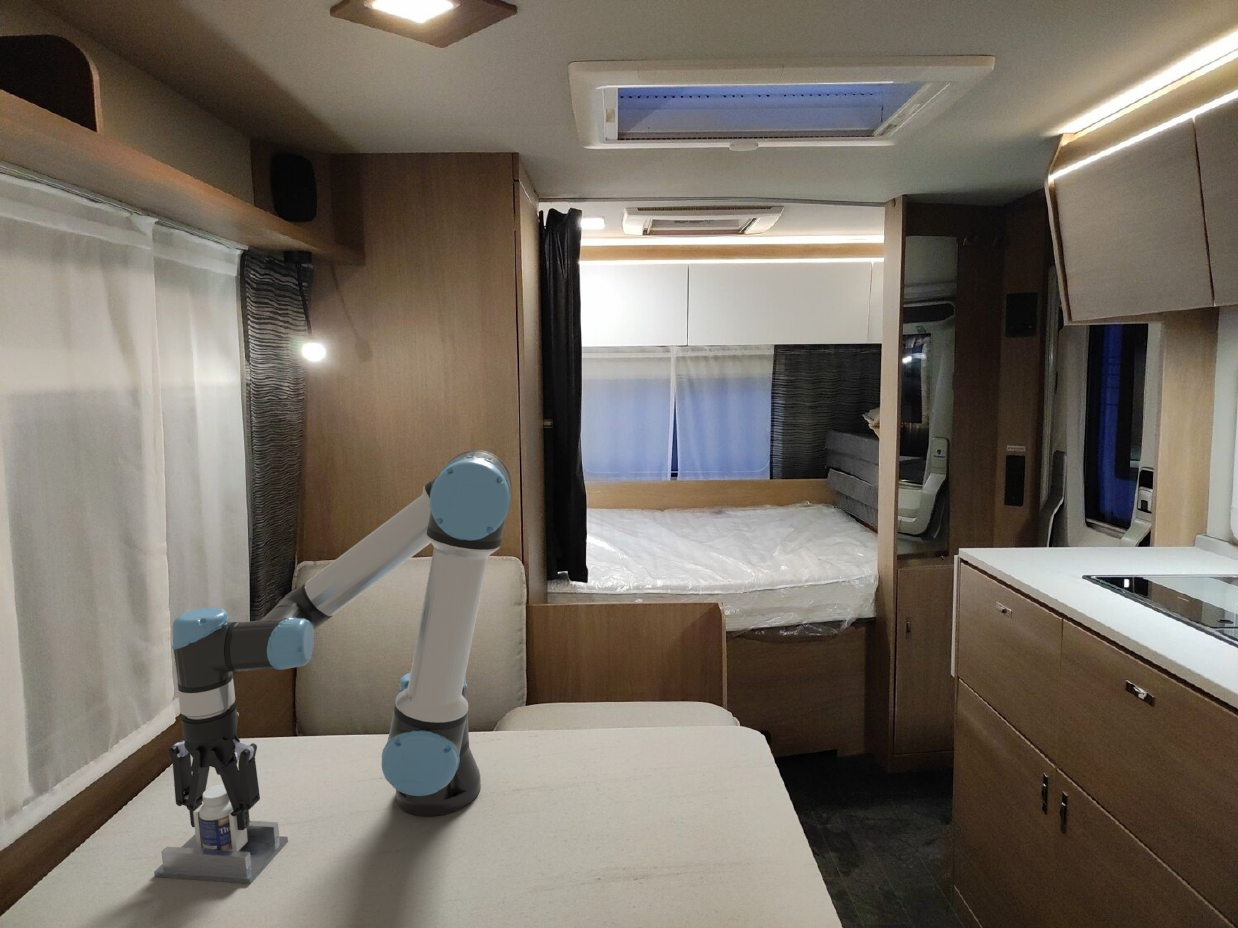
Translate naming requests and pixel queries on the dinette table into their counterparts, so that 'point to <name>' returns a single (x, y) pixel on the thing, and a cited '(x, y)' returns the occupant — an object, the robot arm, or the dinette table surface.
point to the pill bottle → (216, 819)
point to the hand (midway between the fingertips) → (222, 844)
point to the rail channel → (224, 857)
